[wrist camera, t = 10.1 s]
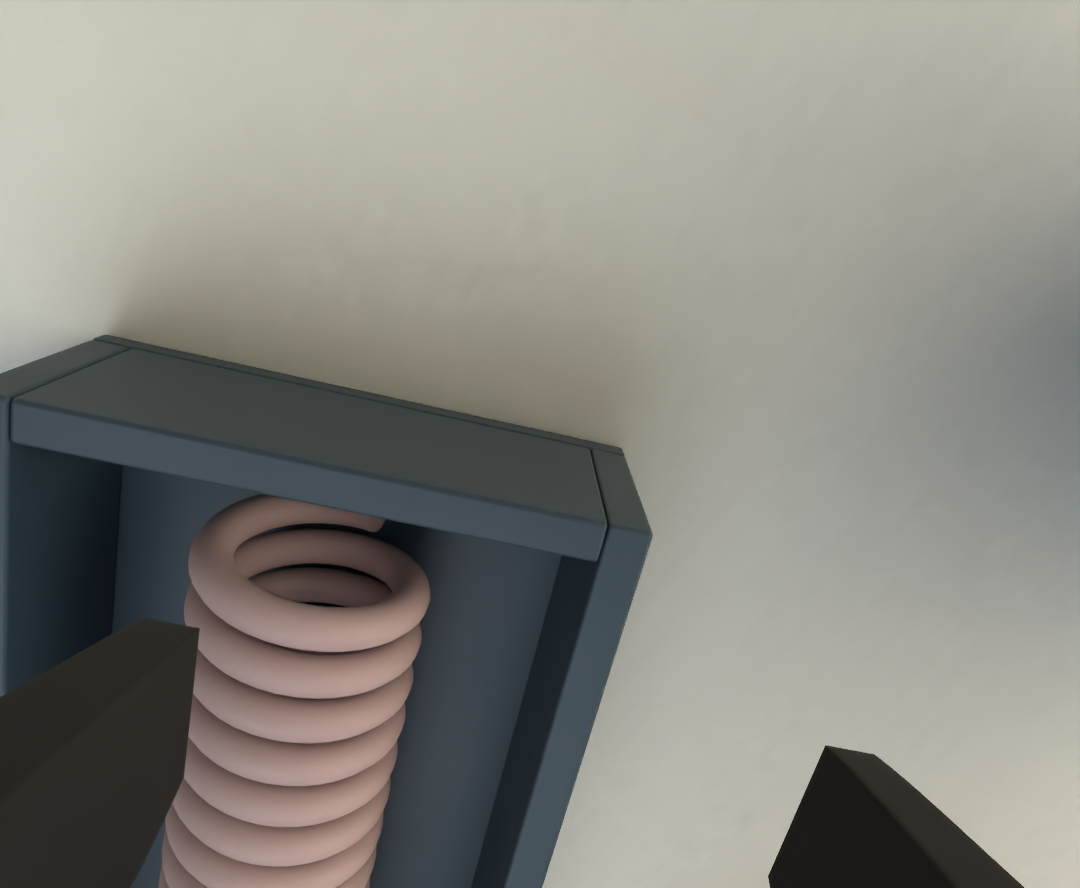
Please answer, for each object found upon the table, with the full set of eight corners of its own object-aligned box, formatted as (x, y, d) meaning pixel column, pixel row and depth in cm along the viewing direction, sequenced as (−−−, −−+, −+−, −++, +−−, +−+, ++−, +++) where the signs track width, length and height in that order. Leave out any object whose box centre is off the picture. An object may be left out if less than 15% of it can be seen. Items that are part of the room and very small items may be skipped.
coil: (306, 1229, 19) (441, 607, 13) (103, 1234, 18) (153, 569, 12) (331, 1028, 23) (441, 496, 17) (169, 1024, 22) (229, 461, 17)
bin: (622, 447, 17) (654, 533, 13) (441, 1078, 24) (423, 1269, 20) (104, 333, 16) (-44, 386, 12) (68, 1027, 23) (-35, 1217, 19)
